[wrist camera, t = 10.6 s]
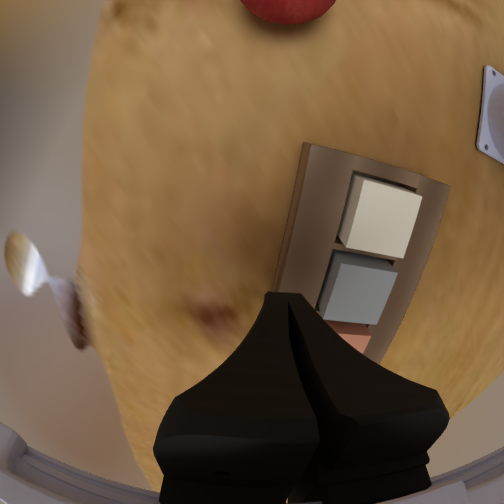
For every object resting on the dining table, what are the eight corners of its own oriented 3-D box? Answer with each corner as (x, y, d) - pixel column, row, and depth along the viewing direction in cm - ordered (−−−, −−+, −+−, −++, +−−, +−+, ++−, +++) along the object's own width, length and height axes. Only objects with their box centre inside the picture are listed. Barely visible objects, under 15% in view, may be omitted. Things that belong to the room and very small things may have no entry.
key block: (428, 178, 19) (450, 186, 16) (364, 352, 25) (373, 374, 22) (303, 142, 18) (311, 144, 15) (259, 342, 24) (259, 367, 22)
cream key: (403, 187, 17) (422, 196, 15) (387, 243, 19) (403, 258, 16) (350, 172, 17) (363, 179, 15) (335, 232, 19) (346, 247, 16)
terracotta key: (361, 315, 21) (371, 336, 19) (344, 353, 23) (351, 375, 20) (312, 309, 21) (318, 331, 19) (299, 350, 23) (302, 372, 20)
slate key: (383, 256, 19) (397, 272, 17) (365, 304, 21) (376, 324, 18) (331, 246, 19) (341, 263, 17) (316, 298, 21) (322, 319, 18)
